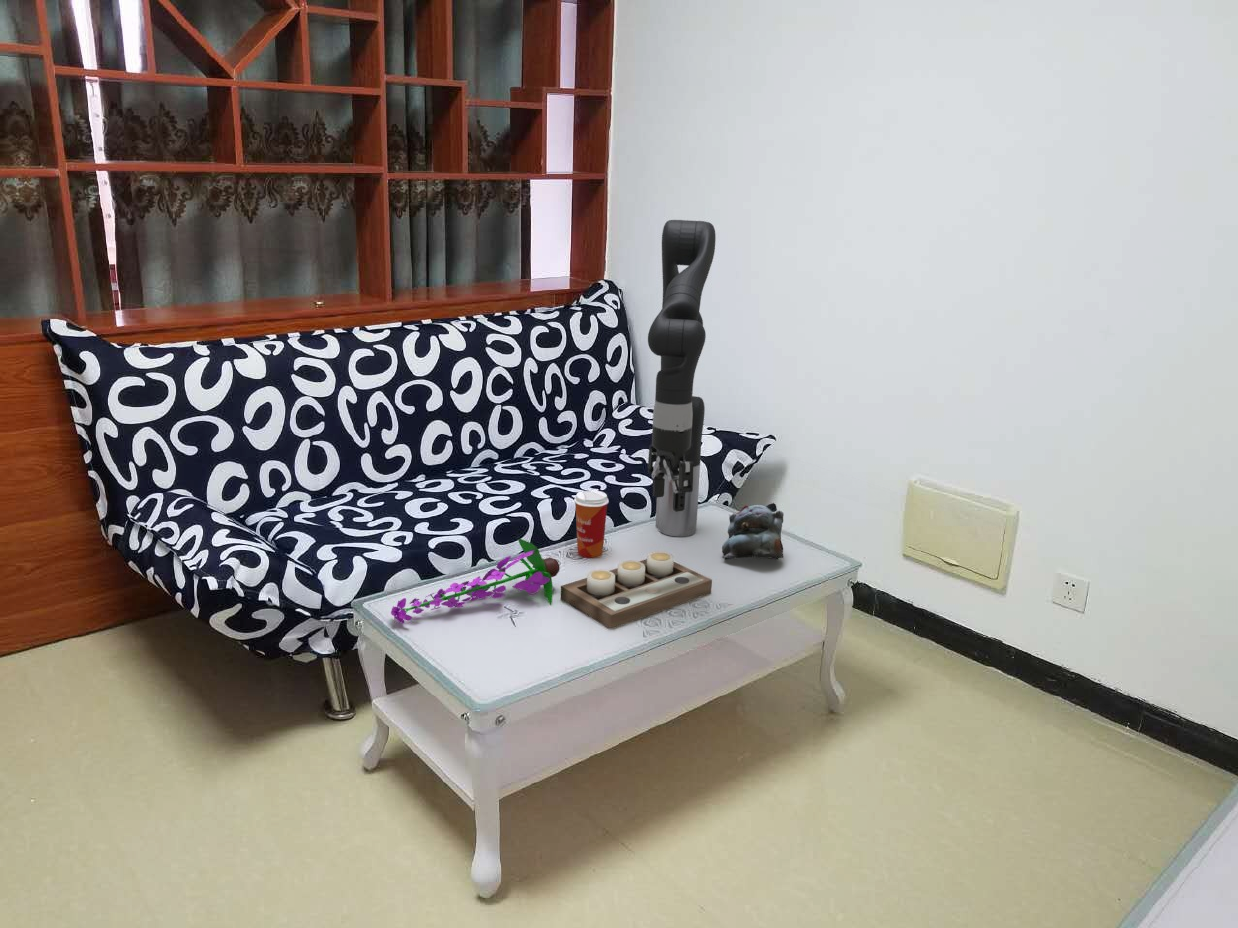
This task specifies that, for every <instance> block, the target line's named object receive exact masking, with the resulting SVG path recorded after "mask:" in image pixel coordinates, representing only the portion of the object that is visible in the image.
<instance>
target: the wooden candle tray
mask: <svg viewBox="0 0 1238 928" xmlns="http://www.w3.org/2000/svg"><path fill="white" fill-rule="evenodd" d="M638 562H641V563H643V564H644V565H645V581H644V582H643V583H642V584H639V585H625V584H622V583H620V582H619V581H618V580H617V577H618V567H616V568H614V569H610V570H609V571H610V572H612V573H614V574H615V591H614V592H613V593H611V594H609V595H594V594H591V593H589V592H588V591H587V577H585V578H582V579H579V580H575V581H573V582H569V583H566V584H562V585H560V600H561V601H562V602H565V603H566V604H567V605H569V606H571V607H572V608H574V609H576V610H578V611H579V612H581V613H583V614H584V615H586V616H587V617H589V618H591V619H593V620H595V621H596V622H597V623H599V624H601V625H603V627H607V628H608V629H610V630H613V629H615V628H618V627H621V626H624V625H627V624H629V623H632V622H635V621H637V620H640V619H643V618H646V617H649V616H652V615H654V614H657V613H659V612H663V611H666V610H668V609H671V608H673V607H674V608H675V607H676V606H679V605H682V604H684V603H687V602H690V601H693V600H695V599H699V598H702V597H704V596H707V595H710V594H712V586H713V585H712V583H713V579H711V578H710V577H707V576H705V575H703V574H701V573H698V572H696V571H694V570H693V569H690V568H688V567H686V566H684V565H682V564H680V563H677V562H675V561H674V563H673V572H672V573H671V574H669V575H664V576H658V575H653V574H650V573H648V572H647V558H645V559H643V560H638Z"/></svg>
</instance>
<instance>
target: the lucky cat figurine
mask: <svg viewBox="0 0 1238 928" xmlns="http://www.w3.org/2000/svg"><path fill="white" fill-rule="evenodd" d="M728 520H729V525H728V527H727V534H728V539H726V541H725V542H724V543H723V544H722V546H721V553H722V554H723V556H722V559H724V560H731V559H746V558H747V559H748V558H760V559H761V558H764V559H765V558H766V559H775V560H779V559H783V558H784V546H783V542H782V529H783V523H784V512H783V511H782V510H780V509H779V510H778V508H777V504H776V503H774V502H771V503H768V504H767V505H762V504H754V505H744V506H743V507H742V508H741V509H740V511H739V512H732V514H729V516H728Z"/></svg>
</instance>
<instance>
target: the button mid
mask: <svg viewBox="0 0 1238 928" xmlns="http://www.w3.org/2000/svg"><path fill="white" fill-rule="evenodd" d="M617 568H618V577H617V580H618V581H619V582H620V583H622V584H625V585H639V584H642V583H643V582H644V581H645V565H644V564H643V563H641V562H639V560H638V561H637V560H623V561H621V562H619V563H618V564H617Z"/></svg>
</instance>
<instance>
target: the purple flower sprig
mask: <svg viewBox="0 0 1238 928" xmlns="http://www.w3.org/2000/svg"><path fill="white" fill-rule="evenodd" d="M517 540H518V544H519V545H520V547H521V549H522V550H523V553H521V554H519V555H518V556H516V557H515V558H513V559H511V557H512V556H511V555H509V556H507V557H505V558H503V559H502V560H500V561H499V562H498V563H497V564H496V565H495V566H496V568H497V569H496V568H491V569H490V570H489V571H487V572H486V573H485V574H484V576H483V577H482V578H481V576H479V575H478V577H476V578H473V579H472V581H471V582H470V581H469V580H468V581H464V582H462V583H458V582H453V583H451V584H450V585H449V587H448V588H446V589H443V588H440V589H439V590H437V592H436V593H435V592H432V593H430V594H428V595H426V596H425V598H428V597H431V598H432V600H428V599H424V600H423V601H419V600H420V598H417V597H416V598H413V599H412V601H410V602H409V605H410V606H411V607H409V608H408V607H407V608H405V607H406V604H407V598H405V597H404V598H402V599H400V600H398V601H397V603H396V606H392V607H391V611H390V614H391V615H392V616H393V618H394V620H396V621H398V622H399V623H402V624H404V623H405V621H406V622H407V621H411V620H413V616H412V615H410V614H407V613H408V612H409V611H411V610H412V613H413V614H417V615H419V614H421V613H422V612H423V611H425V609H423V607H425V608H426V609H430V611H433V610H438V609H441V608H442V606H445V607H447V608H449V609H451V608H454V607H455V608H463V607H464V605H465V604H466V602H473V601H476V600H477V599H486V598H488V597H490V598H491V599H499V598H503V597H504V596H505V593H503V592H505V591H506V589H507V587H506V585H504V584H505V583H507V582H511V581H513V580H514V581H515V580H517V579H519V578H524V577H525V578H524V579H523V580H520V581H519V582H516V583H515V584H514V585H513V586H512V588H513V589H517V590H521V591H524V592H525V591H526V593H528V594H530V595H531V594H532V595H533V594H534V595H535V594H536V593H537V592H538V591H540V590H541V587H542V586H543V590H544V597H545V598H546V600H547V601H548V604H549V605H550V606H552V602H553V580H552V578H554V577H557V576H558V574H559V572H560V569H561V568H560V564H559V561H558V560H557V559H556V558H553V557H547V558H543V557H542V555H541V553H540V550H539V548H538V547H537V546H536V545H534V544H533V543H532V542H529V541H526V540H524V539H522V538H518V539H517ZM524 558H526V559H527V561H526V560H525V559H524ZM510 559H511V560H510ZM509 561H510V563H508V562H509ZM519 561H520V562H521V563H523V565H524V566H525V567H526V568H528V570H526V571H523V572H520V573H516V574H515V575H510V574H508V573H507V572H506V570H507V569H509V568H511V567H512V566H514V565H515V564H516V563H518V562H519ZM528 562H529V563H530V564H531V565H532V567H531V565H530V564H529V563H528ZM504 576H506V578H503V577H504ZM491 580H495V581H493V582H490V583H487V581H491ZM502 584H503V585H502ZM498 585H500V586H498ZM497 586H498V587H497ZM467 587H468V588H467ZM491 587H493V589H492V590H490V591H488V590H489V589H491ZM448 593H453V594H450V595H447V596H446V594H448ZM433 595H434V596H433ZM463 595H466V596H469V597H466V598H464V599H462V600H461V602H460V598H461V596H463ZM456 598H457V599H456ZM430 605H431V606H433V608H430ZM421 607H422V608H421Z"/></svg>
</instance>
